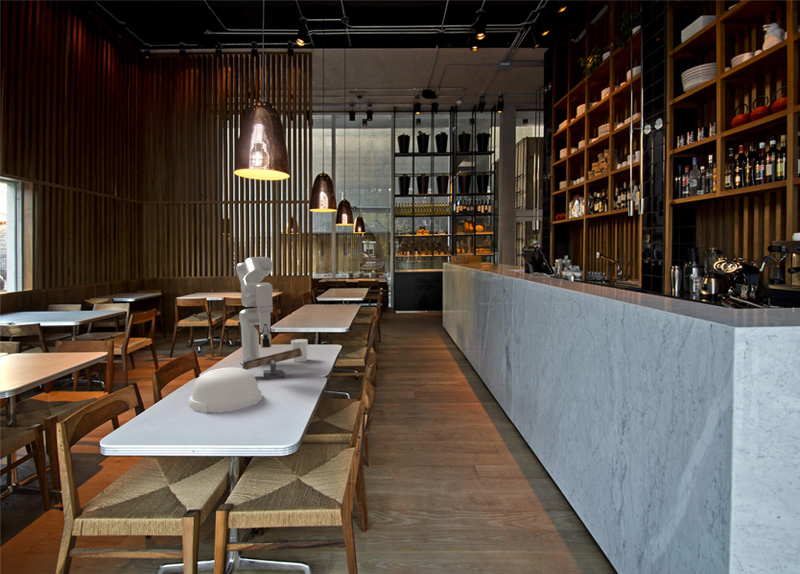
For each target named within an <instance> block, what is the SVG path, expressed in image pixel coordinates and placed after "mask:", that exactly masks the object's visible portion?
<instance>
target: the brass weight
mask: <svg viewBox="0 0 800 574" xmlns="http://www.w3.org/2000/svg"><path fill="white" fill-rule="evenodd" d="M259 336H260V348H263V349H264V348H265V349H266V348H268V349H269V348H271V347H272V334H271V333H269V347H263V340H262V339H263V333H262V334H261V333H260V335H259ZM267 337H268V336H267Z"/></svg>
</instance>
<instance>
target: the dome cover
mask: <svg viewBox="0 0 800 574" xmlns="http://www.w3.org/2000/svg"><path fill="white" fill-rule="evenodd" d="M257 382H258V381H257V379H256V377H255V375H254V374H253V373H252V372H251V371H250V370H249V369H247V370H246V369H243V367H242V368H241V367H233V366H231V367H220V368H216V369H211V370H209V371H206V372H205V373H202V374H201V375H200V376H198V378H197V379H196V380H195V382H194V384H193V386H192V387H193V388H192V393H191V395H190V397H189V399H188V407H190V408H191V409H193V410H192V411H194V410H196V411H195V412H198V411H203V412H202V413H204V412H205V413H204V414H208V413H207V412H214V413H221V412H220V411H227V412H231V411H230V410H233V411H237V410H236V409H239V410H241V409H240V408H243V409H245V408H244V407H246V408H248V407H247V406H249V407H252V406H254V405H256V404H258V403H259V401H260V400H261V401H262V399H263V394H262V390H261V388H260V387H258V383H257ZM261 401H260V402H261ZM257 402H258V403H257ZM253 404H254V405H253ZM251 405H252V406H251ZM190 408H189V409H190ZM191 409H190V410H191Z"/></svg>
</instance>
